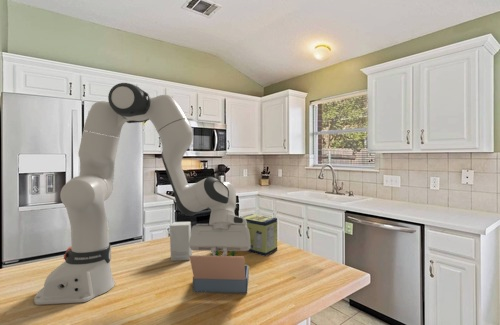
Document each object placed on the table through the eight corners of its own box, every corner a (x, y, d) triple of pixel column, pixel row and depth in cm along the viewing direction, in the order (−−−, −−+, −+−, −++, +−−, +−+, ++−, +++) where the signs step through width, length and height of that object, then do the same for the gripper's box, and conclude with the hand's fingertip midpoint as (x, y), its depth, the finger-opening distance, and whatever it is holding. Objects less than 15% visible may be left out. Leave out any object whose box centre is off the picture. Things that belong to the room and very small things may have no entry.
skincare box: (192, 255, 125) (191, 221, 125) (189, 261, 119) (189, 225, 118) (173, 255, 125) (173, 221, 124) (169, 261, 118) (169, 225, 118)
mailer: (192, 292, 92) (192, 277, 92) (200, 277, 103) (200, 264, 103) (247, 293, 91) (247, 278, 91) (248, 278, 102) (248, 265, 102)
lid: (194, 277, 91) (194, 278, 91) (189, 255, 85) (189, 256, 85) (245, 278, 90) (245, 279, 90) (244, 256, 85) (244, 257, 84)
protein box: (251, 243, 142) (251, 213, 141) (277, 250, 132) (277, 217, 132) (238, 249, 133) (238, 217, 133) (266, 256, 124) (266, 222, 123)
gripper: (190, 218, 94) (183, 258, 85) (250, 219, 94) (250, 258, 84) (193, 228, 99) (187, 266, 90) (251, 228, 98) (250, 267, 89)
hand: (218, 262), depth 87 cm, fingers closed, pressing on lid
